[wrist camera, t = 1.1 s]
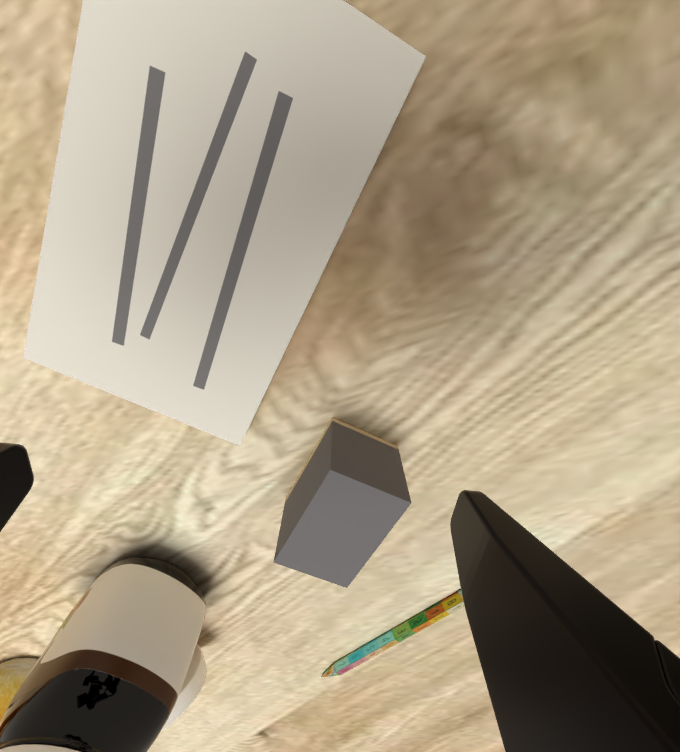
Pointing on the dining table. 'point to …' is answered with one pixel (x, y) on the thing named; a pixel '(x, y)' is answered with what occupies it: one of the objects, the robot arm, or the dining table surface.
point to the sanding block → (342, 504)
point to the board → (205, 192)
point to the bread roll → (13, 679)
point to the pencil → (397, 634)
